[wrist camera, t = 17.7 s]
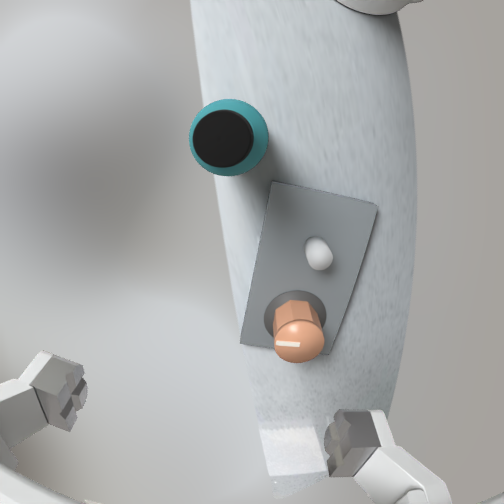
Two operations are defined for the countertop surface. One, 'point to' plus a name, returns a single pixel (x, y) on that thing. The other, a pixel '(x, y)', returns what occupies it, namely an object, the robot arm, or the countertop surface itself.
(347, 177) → the countertop surface
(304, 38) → the countertop surface
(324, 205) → the mount
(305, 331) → the knob
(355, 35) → the countertop surface
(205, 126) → the beverage bottle
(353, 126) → the countertop surface
